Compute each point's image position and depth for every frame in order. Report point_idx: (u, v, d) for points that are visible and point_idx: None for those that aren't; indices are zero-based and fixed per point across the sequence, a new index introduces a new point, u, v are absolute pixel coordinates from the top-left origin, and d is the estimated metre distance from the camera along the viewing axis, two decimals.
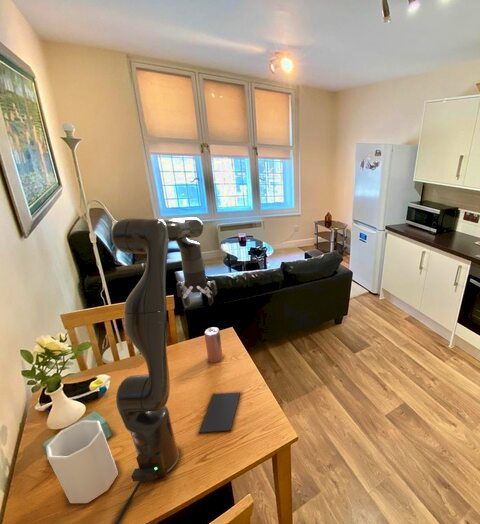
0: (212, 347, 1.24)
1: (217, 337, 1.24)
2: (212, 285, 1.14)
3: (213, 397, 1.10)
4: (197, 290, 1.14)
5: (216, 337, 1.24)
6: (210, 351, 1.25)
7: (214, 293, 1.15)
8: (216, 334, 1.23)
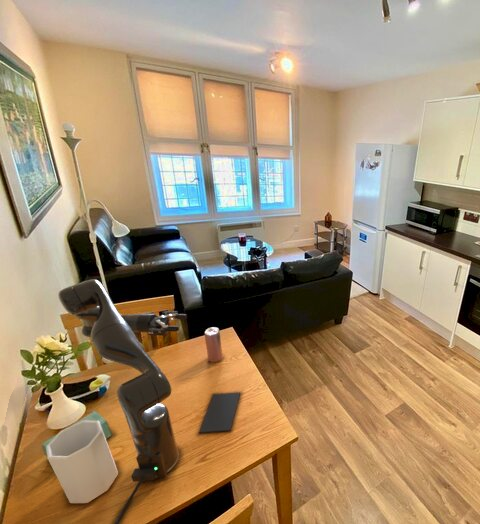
0: (212, 347, 1.24)
1: (217, 337, 1.24)
2: (165, 311, 1.25)
3: (213, 397, 1.10)
4: (164, 319, 1.20)
5: (216, 337, 1.24)
6: (210, 351, 1.25)
7: (174, 311, 1.25)
8: (216, 334, 1.23)
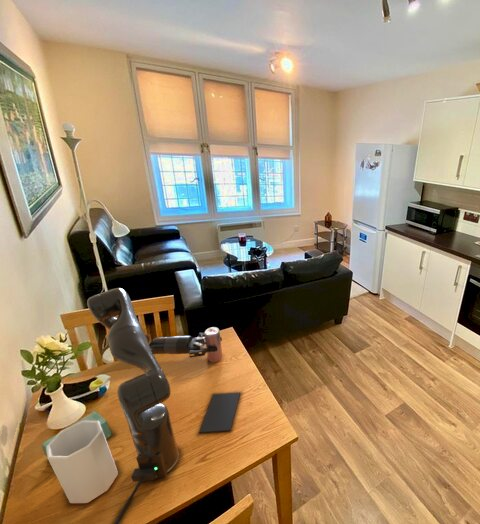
0: None
1: (217, 337, 1.24)
2: (201, 333, 1.31)
3: (213, 397, 1.10)
4: (201, 341, 1.26)
5: (216, 337, 1.24)
6: None
7: None
8: (216, 334, 1.23)
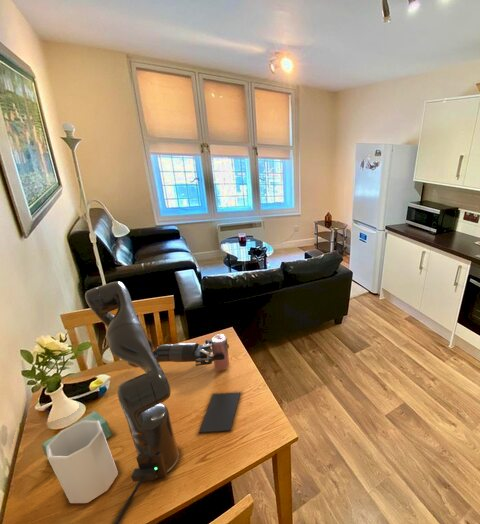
0: None
1: (224, 344, 1.19)
2: (208, 340, 1.26)
3: (213, 397, 1.10)
4: (207, 349, 1.21)
5: (224, 345, 1.19)
6: None
7: None
8: (223, 341, 1.18)
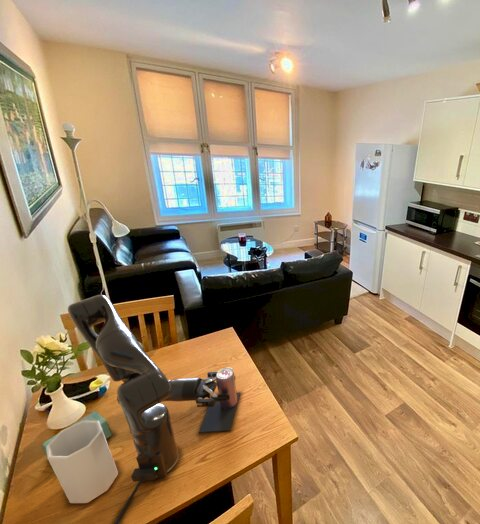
0: (226, 392, 1.02)
1: (231, 380, 1.02)
2: (210, 372, 1.09)
3: None
4: (211, 384, 1.04)
5: (231, 381, 1.02)
6: None
7: None
8: (230, 377, 1.01)
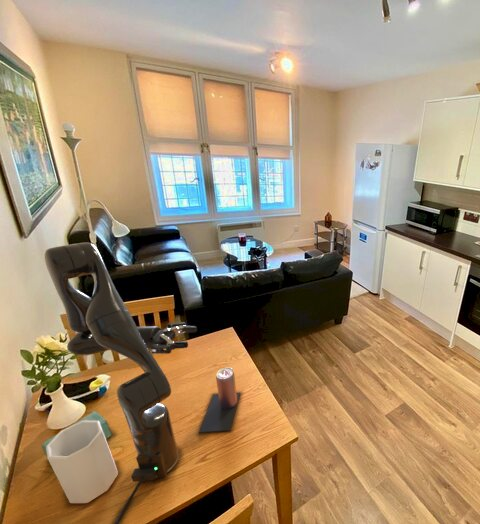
0: (226, 393, 1.02)
1: (231, 380, 1.02)
2: (171, 323, 1.04)
3: (213, 397, 1.10)
4: (170, 333, 0.99)
5: (231, 381, 1.02)
6: (222, 397, 1.03)
7: (182, 322, 1.05)
8: (230, 377, 1.01)
